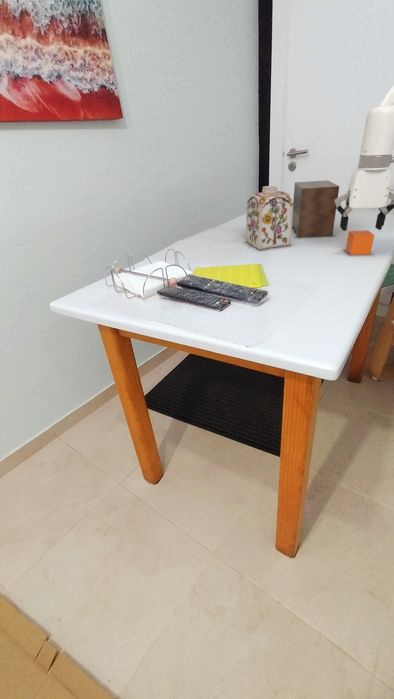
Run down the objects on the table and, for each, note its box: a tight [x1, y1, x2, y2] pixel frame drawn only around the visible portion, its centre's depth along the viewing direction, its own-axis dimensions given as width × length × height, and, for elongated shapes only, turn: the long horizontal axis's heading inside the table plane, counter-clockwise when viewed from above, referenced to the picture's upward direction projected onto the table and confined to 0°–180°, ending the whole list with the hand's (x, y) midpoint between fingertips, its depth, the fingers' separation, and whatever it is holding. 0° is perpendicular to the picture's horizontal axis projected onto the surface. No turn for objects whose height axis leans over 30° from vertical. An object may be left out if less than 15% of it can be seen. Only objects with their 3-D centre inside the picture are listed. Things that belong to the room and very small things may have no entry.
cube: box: [345, 230, 375, 256], centre depth 101 cm, size 6×6×6 cm
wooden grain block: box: [292, 179, 340, 238], centre depth 123 cm, size 12×17×16 cm
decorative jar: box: [245, 185, 293, 251], centre depth 112 cm, size 12×12×18 cm
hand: (360, 229), depth 99 cm, fingers open, 9 cm apart
